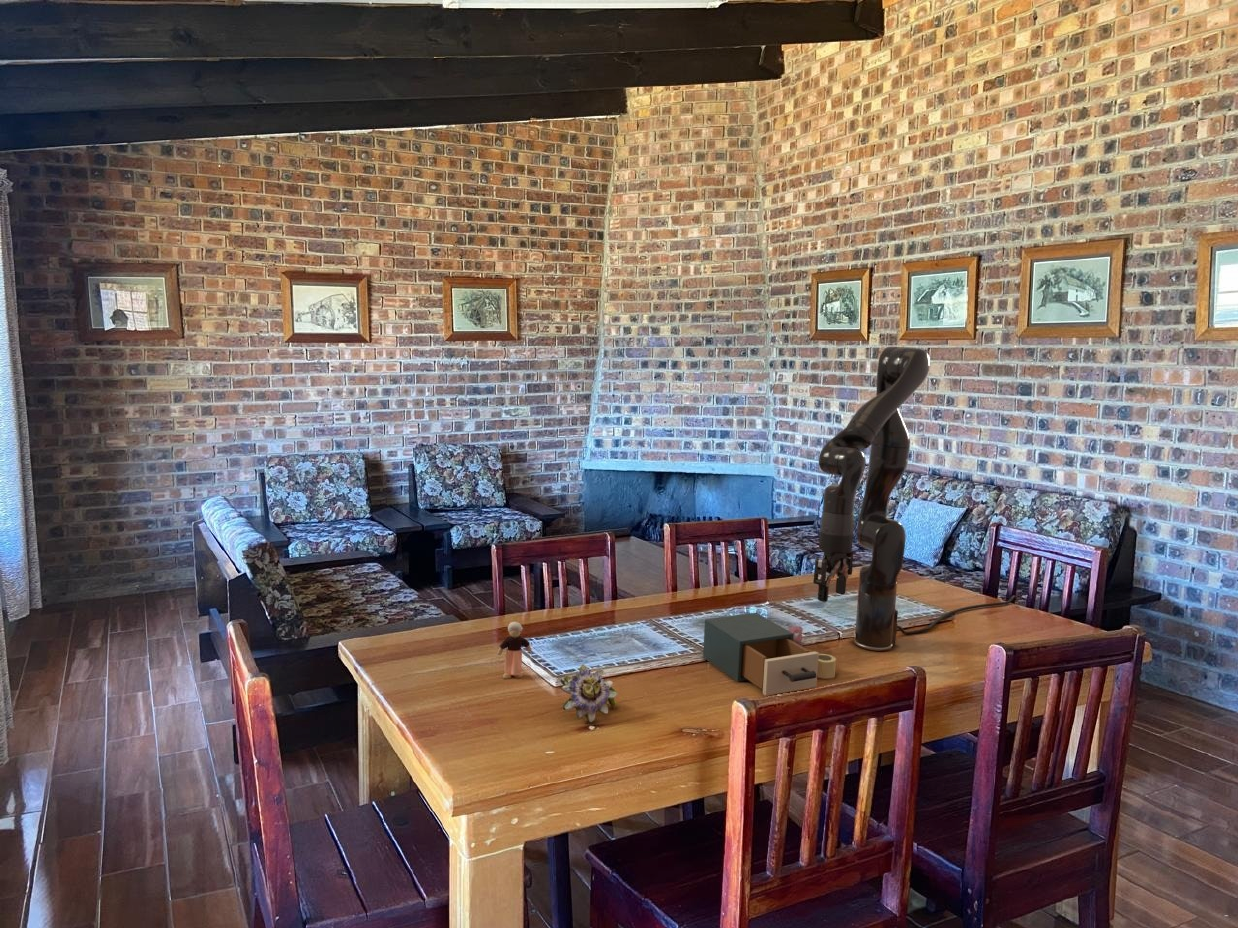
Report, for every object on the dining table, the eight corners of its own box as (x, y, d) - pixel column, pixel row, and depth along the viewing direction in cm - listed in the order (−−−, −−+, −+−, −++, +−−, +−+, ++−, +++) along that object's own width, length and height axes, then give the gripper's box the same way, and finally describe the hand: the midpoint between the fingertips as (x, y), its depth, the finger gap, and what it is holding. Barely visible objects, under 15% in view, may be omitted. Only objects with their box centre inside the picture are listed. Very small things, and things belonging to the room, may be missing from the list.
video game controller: (792, 662, 213) (807, 639, 212) (775, 652, 214) (790, 629, 212) (792, 647, 223) (806, 625, 221) (776, 638, 223) (790, 616, 222)
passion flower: (590, 745, 177) (564, 710, 170) (566, 715, 185) (541, 680, 179) (633, 709, 179) (610, 673, 173) (608, 681, 188) (585, 646, 181)
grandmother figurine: (501, 681, 193) (501, 626, 191) (495, 675, 197) (496, 621, 195) (533, 676, 197) (534, 622, 195) (527, 669, 200) (528, 616, 198)
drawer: (828, 694, 190) (831, 660, 188) (777, 703, 184) (779, 668, 183) (778, 662, 207) (780, 631, 205) (730, 670, 201) (731, 638, 200)
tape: (825, 668, 206) (826, 652, 206) (839, 676, 202) (840, 660, 201) (807, 671, 204) (808, 655, 204) (821, 679, 200) (822, 663, 199)
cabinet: (791, 672, 203) (793, 633, 202) (737, 681, 197) (739, 641, 195) (754, 649, 217) (756, 612, 215) (702, 657, 211) (704, 619, 209)
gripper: (836, 538, 196) (831, 607, 199) (865, 528, 207) (860, 594, 209) (806, 532, 201) (802, 600, 204) (836, 523, 211) (832, 587, 214)
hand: (831, 597), depth 206 cm, fingers open, 8 cm apart
